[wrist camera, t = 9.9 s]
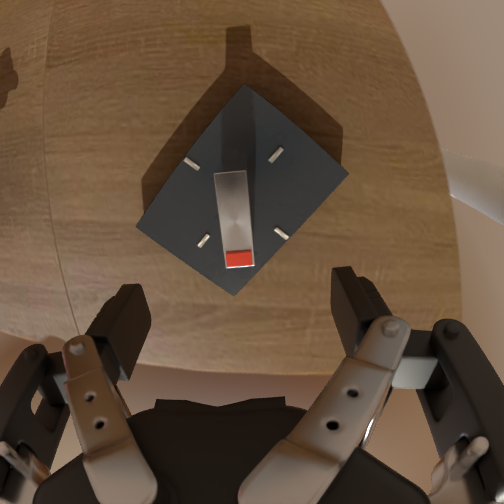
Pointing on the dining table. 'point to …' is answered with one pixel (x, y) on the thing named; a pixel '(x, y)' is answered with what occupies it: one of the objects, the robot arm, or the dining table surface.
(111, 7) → the dining table surface
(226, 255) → the tap handle
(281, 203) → the base
